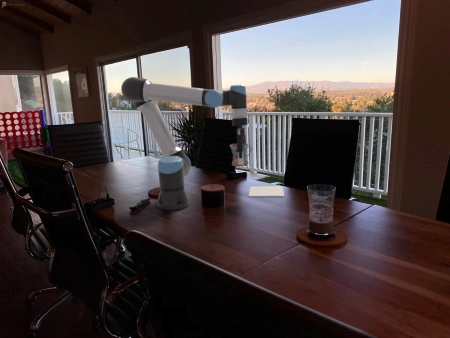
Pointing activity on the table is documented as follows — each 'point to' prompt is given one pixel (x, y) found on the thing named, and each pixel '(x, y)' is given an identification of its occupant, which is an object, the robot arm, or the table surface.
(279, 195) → the placemat
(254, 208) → the table surface
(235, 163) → the mug
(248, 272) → the table surface
